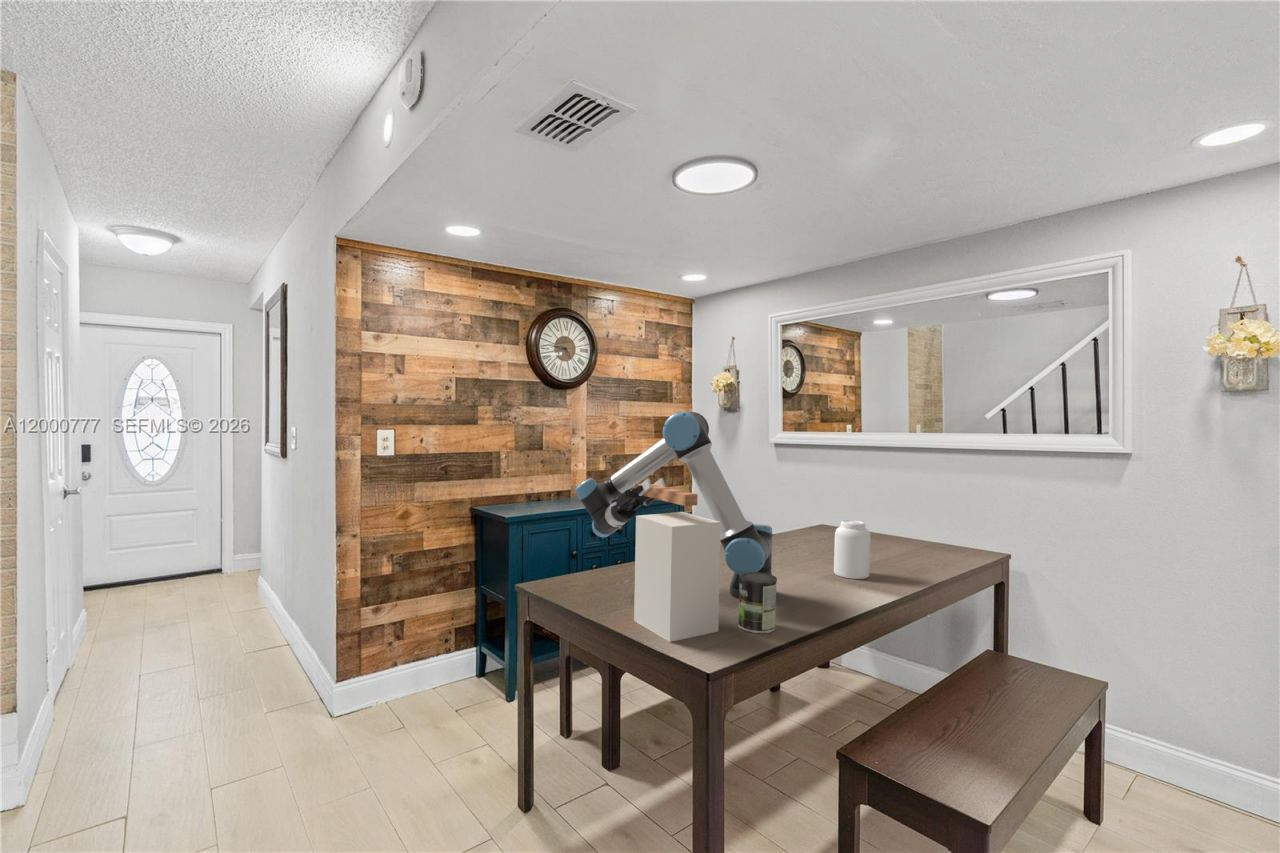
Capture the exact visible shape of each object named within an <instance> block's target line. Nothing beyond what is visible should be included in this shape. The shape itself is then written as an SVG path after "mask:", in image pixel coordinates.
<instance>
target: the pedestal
mask: <svg viewBox="0 0 1280 853" xmlns="http://www.w3.org/2000/svg"><path fill="white" fill-rule="evenodd" d="M720 540H721V522H719V521H716V520H714V519H711V518H707V517H703V516H700V515H696V514H693V513H689V512H685V511H677V512H676V511H675V512H673V511H672V512H663V513H662V512H661V513H655V514H653V513H651V514H641V515H635V551H634V552H635V553H634V554H635V555H634V597H633V598H634V599H633V600H634V601H633V602H634V604H633V606H634V607H633V609H634V610H633V621H634V622H635V623H636V624H638V625H640V626H641V627H644V628H645V629H647V630H649V631H650V632H652V633H654V634H655V635H657V636H658V637H660V638H662V639H664V640H665V641H667V642H668V643H672V642H675V641H676V642H677V641H681V640H686V639H690V638H691V639H692V638H695V637H699V636H705V635H709V634H713V633H718V632H719V620H720V619H719V618H720V617H719V615H720V614H719V613H720V611H719V610H720V581H721V580H720V571H721V570H720V569H721V542H720Z"/></svg>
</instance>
